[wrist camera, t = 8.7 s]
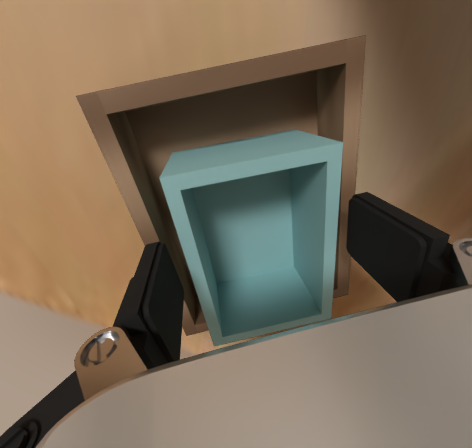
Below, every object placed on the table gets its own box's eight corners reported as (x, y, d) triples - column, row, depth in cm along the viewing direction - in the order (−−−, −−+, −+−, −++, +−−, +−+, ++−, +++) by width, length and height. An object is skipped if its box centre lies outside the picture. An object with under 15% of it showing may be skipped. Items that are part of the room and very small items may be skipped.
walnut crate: (107, 97, 12) (75, 95, 9) (324, 51, 12) (365, 35, 9) (188, 298, 19) (186, 335, 16) (324, 264, 19) (348, 294, 16)
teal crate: (172, 152, 13) (159, 177, 8) (294, 129, 13) (343, 142, 9) (209, 285, 18) (214, 346, 13) (298, 265, 18) (331, 318, 14)
